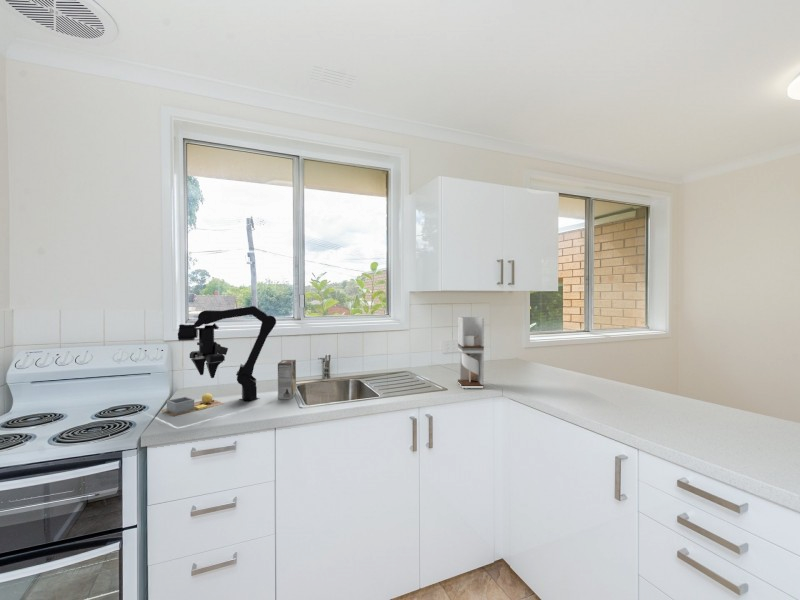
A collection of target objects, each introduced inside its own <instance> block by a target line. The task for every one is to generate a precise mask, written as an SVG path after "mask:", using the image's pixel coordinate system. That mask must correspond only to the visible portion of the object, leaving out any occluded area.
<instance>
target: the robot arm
mask: <svg viewBox="0 0 800 600" xmlns="http://www.w3.org/2000/svg"><path fill="white" fill-rule="evenodd" d="M197 316H198V317H197V320H196V321H195V322H194V324H182V323H181V324H179V325H178V327H179V328H178V333H177V340H178V341H179V342H181V341H182V342H186V341H195V340H196V339H197V338H198V341H197V342H196V345H197V346H198V350H195V351H194V350H193V351H191V352H190V353H189V359H190V360H191V362H192V363H193V364H194V366H195V368H196V369H197V371H198V374H199V376H204V373H205V366H206V368H207V371H208V374H209V376H210V378H211V379H214V378H215V375H216V372H217V369H218V367H219V365H220V364H221V363H224V361H225V360H226V355H227V353H228V351H229V347H226V346H225V347H224V346H221V344H220V343H217V341H215V330H219V328H220V327H219V325H217V324H216V323H214V322H218V321H221V320H225V319H232V318H237V317H245V316H253V317H254V318H256V319H257V320H259V321H260V322H261V324H260V329H259V333H258V335H257V337H256V339H255V342H254V344H253V346H252V348H251V351H250V353H249V355H248V358H247V359H246V362H244V364H242V363H240V366H239V369H238V370H237V372H236V382H237V383H238V384H240V386H241V398H239V401H242V402H246V403H248V402H252V401H256V400H261V399H260V398H259V397H257V396H258V394H257V392H258V391H257V389H258V388H257V378H256V377H254V376H253V373H254V368H255V364H256V363H257V360H258V358H259V356H260V354H261V351H262V349H263V347H264V344H265V342H266V340H267V338H268V336H269V335H270V333H271V332H272V330H273V329H275V328H274V327H276V325H277V320H276V317H275V316H274V315H272V314H268V313H266V312H264V311H263V310H261V309H259V308H258V307H257V306H256V305H250V306H243V307H236V308H230V309H223V310H219V309H218V310H217V309H206V310H202V311H201V312H199V314H198V315H197ZM212 323H213V324H212ZM209 324H210V325H209ZM203 325H204V327H202V326H203ZM205 364H206V365H205Z"/></svg>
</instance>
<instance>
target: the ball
mask: <svg viewBox="0 0 800 600" xmlns="http://www.w3.org/2000/svg"><path fill="white" fill-rule="evenodd" d="M212 400H213V395H212V394H211V393H204V394H203V395H202V397H201V401H203V402H204V403H209V402H211V401H212Z"/></svg>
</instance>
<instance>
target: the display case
mask: <svg viewBox="0 0 800 600" xmlns="http://www.w3.org/2000/svg"><path fill="white" fill-rule="evenodd" d="M484 340H485V318H484V317H479V316H458V317H457V350H458V351H459V379H457V383H458V382H459V383H460V384H461V386H485V385H484V384H485V383H484V382H485V381H484V375H485V373H484V372H485V371H484V367H485V363H484V361H485V360H484V359H485V357H484V355H485V353H484V352H485V345H484V343H485V341H484Z"/></svg>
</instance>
